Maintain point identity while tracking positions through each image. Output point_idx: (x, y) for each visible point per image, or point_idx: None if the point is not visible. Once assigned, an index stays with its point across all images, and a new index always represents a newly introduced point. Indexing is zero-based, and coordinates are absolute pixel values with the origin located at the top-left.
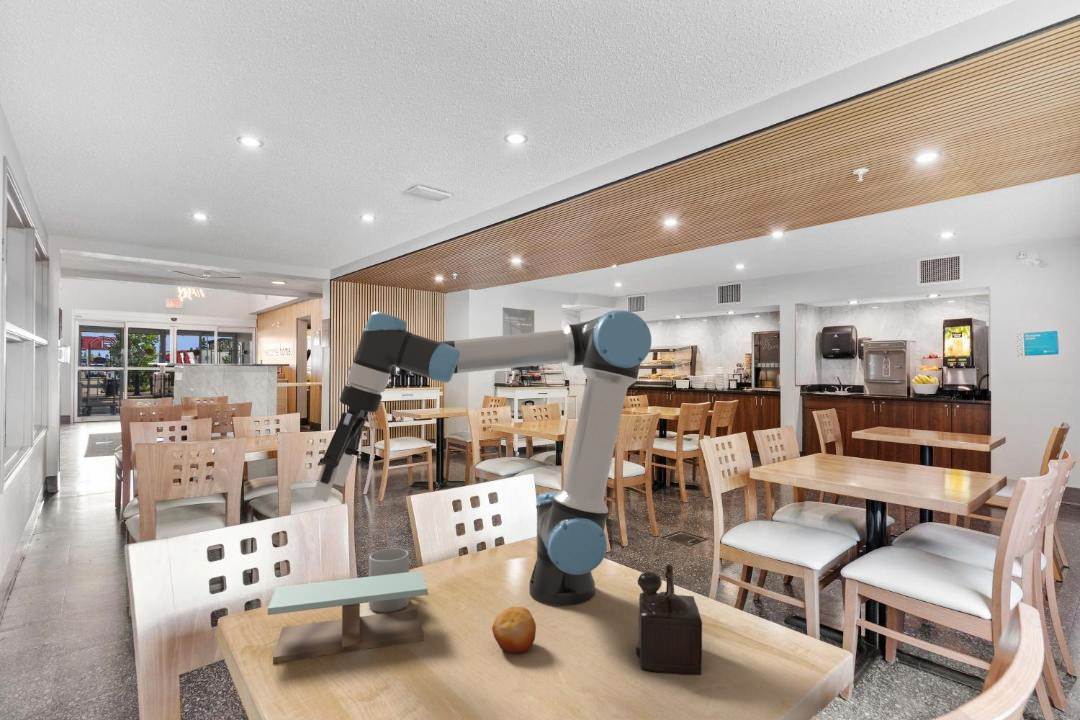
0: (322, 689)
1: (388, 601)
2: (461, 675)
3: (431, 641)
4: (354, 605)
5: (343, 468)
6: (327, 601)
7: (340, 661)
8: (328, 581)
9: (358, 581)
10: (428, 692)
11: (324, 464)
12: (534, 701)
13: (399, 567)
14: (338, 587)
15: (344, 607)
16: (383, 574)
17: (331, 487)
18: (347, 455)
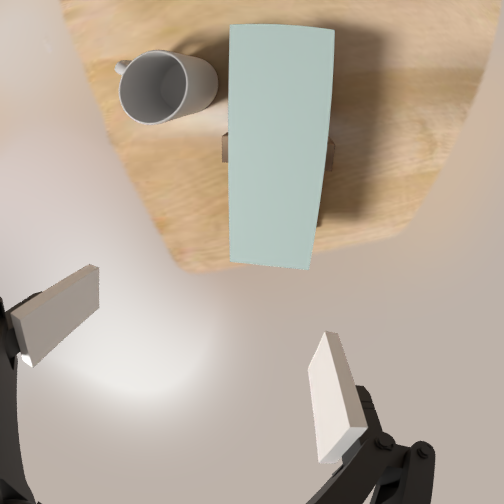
0: (396, 183)
1: (213, 85)
2: (431, 46)
3: (339, 43)
4: (328, 152)
5: (62, 311)
6: (320, 195)
7: (346, 158)
8: (229, 191)
9: (247, 141)
10: (448, 89)
11: (337, 459)
12: (485, 23)
13: (190, 65)
14: (265, 176)
15: (329, 167)
16: (196, 94)
17: (341, 363)
18: (28, 341)
